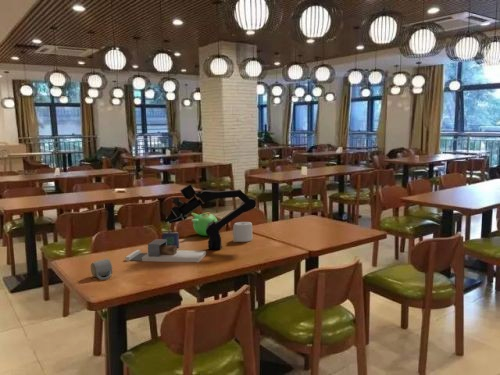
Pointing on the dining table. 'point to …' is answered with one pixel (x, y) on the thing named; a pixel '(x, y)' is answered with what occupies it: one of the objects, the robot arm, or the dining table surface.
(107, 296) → the dining table surface
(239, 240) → the toilet tissue
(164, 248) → the walnut bar
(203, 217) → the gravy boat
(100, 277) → the ceramic mug
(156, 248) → the tunnel
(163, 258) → the platform
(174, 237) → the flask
